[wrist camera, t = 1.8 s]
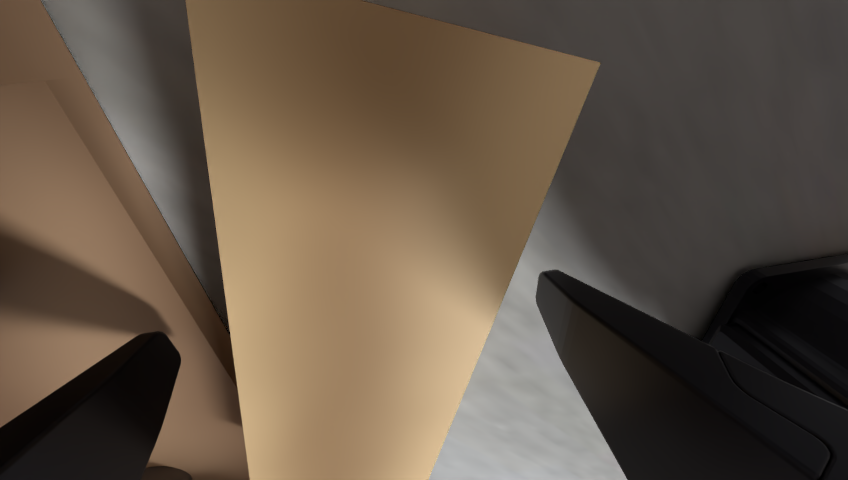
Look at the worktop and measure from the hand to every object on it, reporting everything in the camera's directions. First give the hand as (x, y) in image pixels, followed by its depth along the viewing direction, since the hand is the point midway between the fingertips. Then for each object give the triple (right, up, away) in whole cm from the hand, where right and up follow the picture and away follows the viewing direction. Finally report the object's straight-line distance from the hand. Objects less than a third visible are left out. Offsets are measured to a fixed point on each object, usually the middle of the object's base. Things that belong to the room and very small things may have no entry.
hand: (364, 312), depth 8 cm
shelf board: (0, +1, +1) cm, 2 cm away
